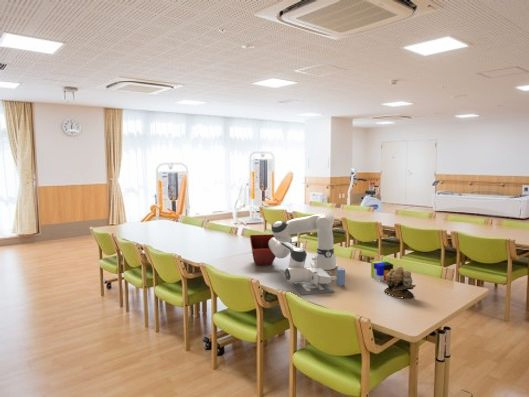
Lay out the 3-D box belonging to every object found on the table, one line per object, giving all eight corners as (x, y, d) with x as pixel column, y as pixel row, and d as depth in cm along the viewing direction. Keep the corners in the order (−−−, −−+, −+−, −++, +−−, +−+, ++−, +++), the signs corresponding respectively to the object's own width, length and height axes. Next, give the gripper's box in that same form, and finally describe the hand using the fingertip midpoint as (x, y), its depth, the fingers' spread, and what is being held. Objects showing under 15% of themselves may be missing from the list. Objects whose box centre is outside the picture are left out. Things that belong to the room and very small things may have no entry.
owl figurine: (419, 295, 224) (419, 266, 222) (410, 301, 215) (411, 271, 213) (389, 288, 236) (389, 260, 234) (380, 293, 228) (380, 265, 226)
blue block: (336, 283, 246) (336, 268, 245) (343, 283, 246) (343, 268, 245) (338, 285, 242) (338, 270, 241) (344, 285, 242) (345, 269, 241)
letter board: (292, 284, 246) (292, 283, 246) (322, 281, 250) (322, 280, 250) (301, 295, 226) (301, 294, 226) (334, 292, 230) (334, 291, 230)
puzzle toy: (379, 281, 250) (379, 265, 249) (370, 276, 259) (371, 261, 258) (392, 279, 252) (393, 264, 251) (384, 275, 262) (384, 260, 261)
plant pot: (273, 251, 306) (274, 233, 299) (277, 267, 290) (278, 248, 282) (249, 253, 304) (249, 234, 296) (251, 268, 287) (252, 249, 280)
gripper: (307, 274, 251) (328, 275, 253) (316, 285, 231) (338, 285, 233) (308, 265, 250) (329, 265, 252) (316, 274, 230) (339, 275, 232)
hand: (333, 275), depth 242 cm, fingers open, 8 cm apart
